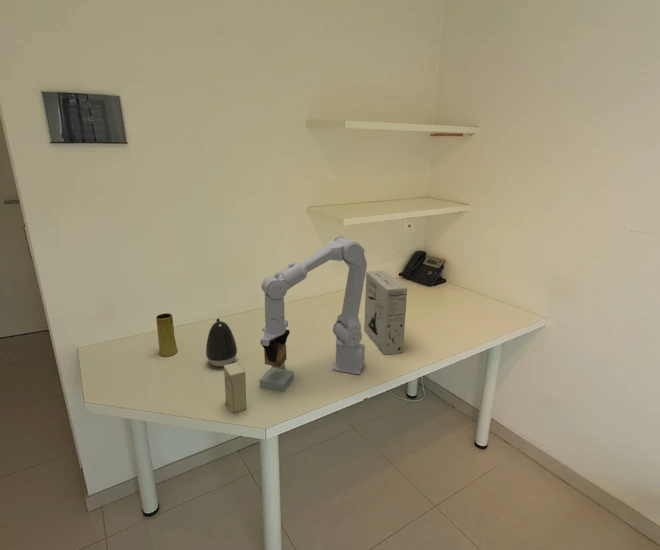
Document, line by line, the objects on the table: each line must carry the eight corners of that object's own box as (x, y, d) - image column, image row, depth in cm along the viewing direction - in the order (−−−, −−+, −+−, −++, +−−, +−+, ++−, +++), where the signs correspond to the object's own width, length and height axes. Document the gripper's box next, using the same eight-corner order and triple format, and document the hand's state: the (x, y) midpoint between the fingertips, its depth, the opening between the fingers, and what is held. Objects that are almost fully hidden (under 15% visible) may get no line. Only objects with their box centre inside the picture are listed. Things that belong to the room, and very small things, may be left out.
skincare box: (225, 402, 118) (222, 365, 114) (240, 397, 120) (237, 361, 116) (232, 414, 113) (229, 375, 109) (247, 409, 115) (245, 371, 111)
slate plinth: (293, 379, 130) (293, 371, 129) (283, 393, 123) (283, 384, 122) (271, 375, 133) (270, 367, 132) (259, 388, 125) (259, 379, 124)
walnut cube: (286, 359, 127) (286, 344, 126) (280, 367, 123) (279, 352, 121) (272, 356, 129) (271, 342, 127) (264, 364, 124) (264, 349, 123)
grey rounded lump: (287, 367, 137) (286, 356, 136) (281, 373, 133) (281, 363, 132) (275, 365, 138) (274, 354, 137) (269, 371, 134) (268, 361, 133)
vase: (175, 356, 143) (171, 319, 139) (157, 357, 142) (152, 320, 138) (179, 348, 149) (175, 312, 145) (161, 349, 148) (156, 313, 144)
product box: (363, 330, 165) (366, 271, 158) (381, 328, 167) (384, 270, 160) (383, 355, 145) (387, 289, 138) (403, 353, 147) (407, 287, 140)
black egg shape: (235, 353, 146) (232, 314, 141) (239, 367, 136) (237, 325, 132) (205, 358, 142) (202, 317, 138) (208, 372, 133) (204, 330, 128)
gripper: (273, 305, 129) (274, 344, 133) (251, 323, 115) (253, 366, 120) (293, 308, 127) (294, 347, 131) (273, 327, 113) (275, 370, 118)
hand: (276, 356), depth 125 cm, fingers closed on walnut cube, 5 cm apart
